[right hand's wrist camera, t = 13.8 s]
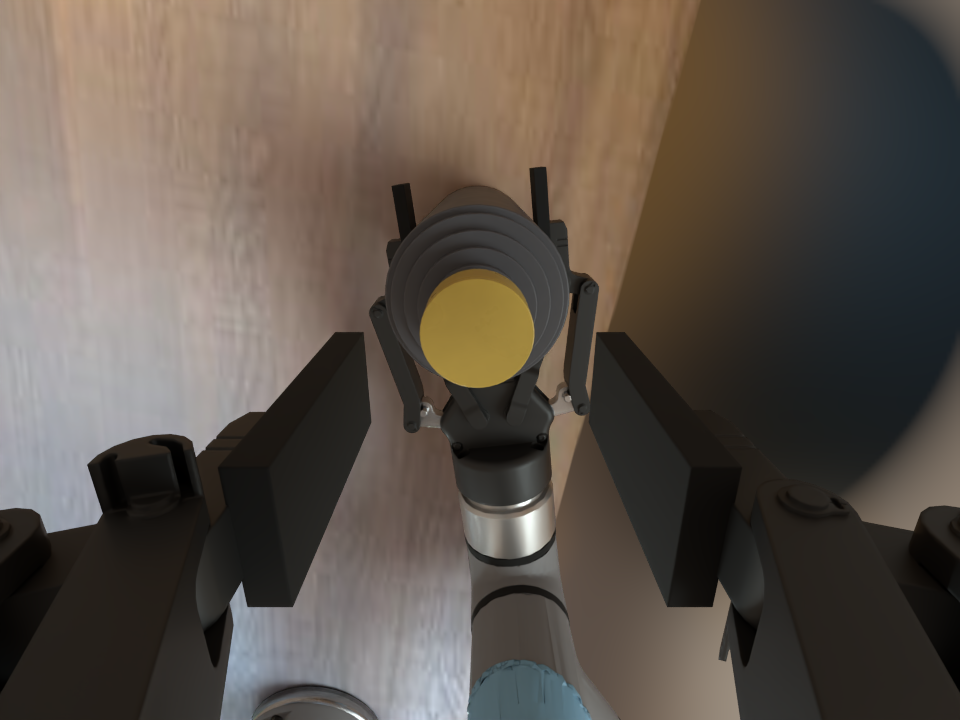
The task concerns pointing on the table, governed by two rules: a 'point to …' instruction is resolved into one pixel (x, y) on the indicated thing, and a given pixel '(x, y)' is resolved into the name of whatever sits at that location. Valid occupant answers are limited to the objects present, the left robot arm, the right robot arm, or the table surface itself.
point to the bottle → (477, 265)
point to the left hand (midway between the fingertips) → (468, 176)
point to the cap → (477, 328)
